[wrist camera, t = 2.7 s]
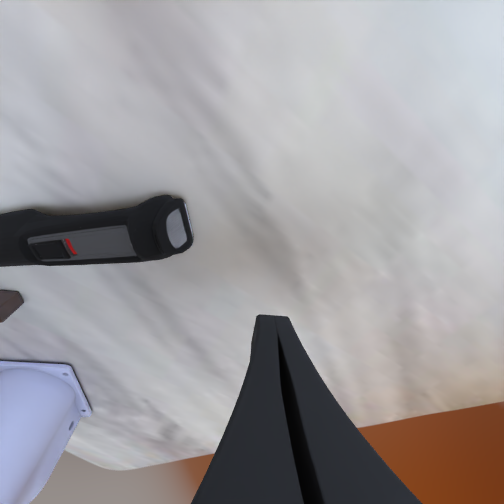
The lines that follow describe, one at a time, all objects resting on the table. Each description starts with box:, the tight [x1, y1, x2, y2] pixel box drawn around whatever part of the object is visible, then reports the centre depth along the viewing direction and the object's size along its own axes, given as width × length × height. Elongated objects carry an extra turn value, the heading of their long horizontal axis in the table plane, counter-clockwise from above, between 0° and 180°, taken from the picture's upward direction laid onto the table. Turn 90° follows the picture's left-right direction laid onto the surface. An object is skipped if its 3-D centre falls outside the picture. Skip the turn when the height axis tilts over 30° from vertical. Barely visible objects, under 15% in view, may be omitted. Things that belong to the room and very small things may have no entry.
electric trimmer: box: [0, 195, 194, 267], centre depth 14 cm, size 4×16×3 cm, turn 94°
